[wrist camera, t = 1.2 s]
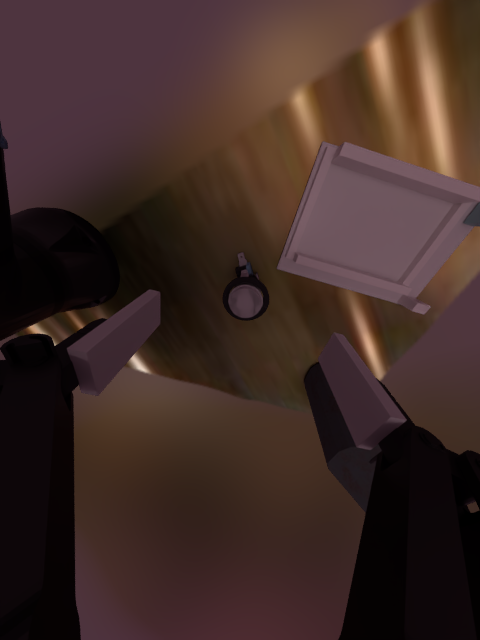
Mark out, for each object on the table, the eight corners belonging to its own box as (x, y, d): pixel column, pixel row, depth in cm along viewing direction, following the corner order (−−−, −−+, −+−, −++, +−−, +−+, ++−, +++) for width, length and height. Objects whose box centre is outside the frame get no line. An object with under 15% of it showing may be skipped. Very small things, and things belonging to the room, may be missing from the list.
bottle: (309, 397, 41) (401, 710, 15) (297, 366, 37) (393, 725, 11) (359, 386, 38) (578, 750, 12) (352, 352, 34) (657, 790, 8)
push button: (224, 257, 27) (209, 275, 19) (259, 246, 26) (260, 261, 18) (237, 296, 30) (230, 328, 22) (269, 288, 29) (274, 319, 21)
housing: (276, 268, 28) (278, 274, 25) (321, 142, 20) (332, 130, 17) (406, 305, 29) (423, 315, 26) (492, 199, 22) (529, 196, 19)
